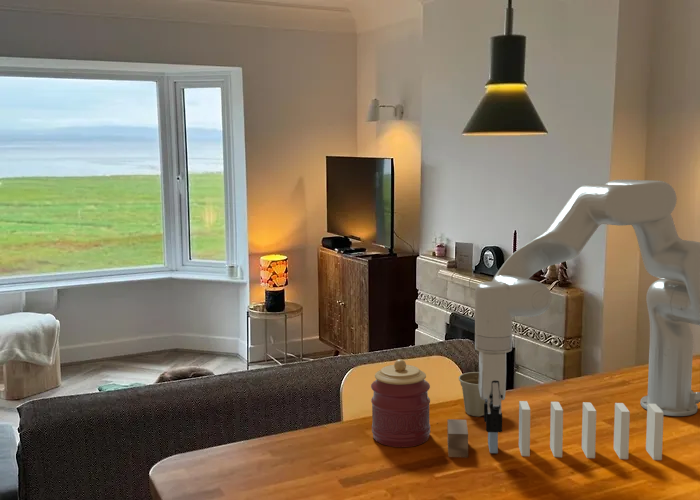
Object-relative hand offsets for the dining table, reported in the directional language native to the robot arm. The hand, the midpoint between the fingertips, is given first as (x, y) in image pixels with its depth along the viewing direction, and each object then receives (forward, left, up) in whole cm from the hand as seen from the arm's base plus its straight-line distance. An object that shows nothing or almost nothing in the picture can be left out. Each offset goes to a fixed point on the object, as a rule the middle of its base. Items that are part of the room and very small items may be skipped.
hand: (492, 425), depth 145 cm
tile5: (-6, 0, -5) cm, 8 cm away
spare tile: (0, 0, -5) cm, 5 cm away
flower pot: (+2, -22, -6) cm, 23 cm away
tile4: (-13, 0, -5) cm, 14 cm away
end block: (+7, 0, -5) cm, 9 cm away
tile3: (-19, 0, -5) cm, 20 cm away
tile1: (-32, 0, -5) cm, 33 cm away
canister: (+20, -6, -6) cm, 21 cm away
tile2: (-26, 0, -5) cm, 27 cm away
